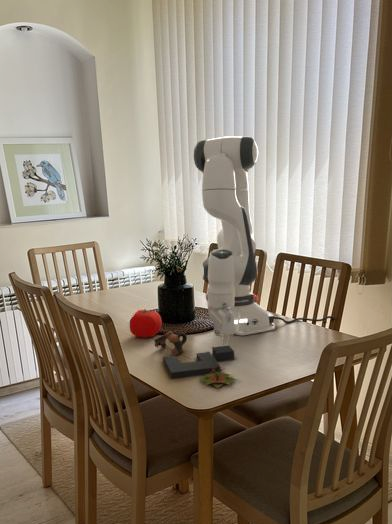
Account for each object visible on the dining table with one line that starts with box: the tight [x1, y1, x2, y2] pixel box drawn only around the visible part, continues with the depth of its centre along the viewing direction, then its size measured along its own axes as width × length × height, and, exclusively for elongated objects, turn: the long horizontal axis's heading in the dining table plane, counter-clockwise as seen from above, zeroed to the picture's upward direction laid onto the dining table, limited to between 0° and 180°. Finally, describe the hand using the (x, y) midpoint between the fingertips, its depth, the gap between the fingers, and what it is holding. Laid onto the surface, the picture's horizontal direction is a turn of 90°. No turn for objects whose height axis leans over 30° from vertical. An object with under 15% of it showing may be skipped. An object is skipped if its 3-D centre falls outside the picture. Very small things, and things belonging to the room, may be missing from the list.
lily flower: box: [197, 366, 239, 389], centre depth 167 cm, size 12×12×5 cm
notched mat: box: [162, 351, 222, 379], centre depth 179 cm, size 16×14×2 cm
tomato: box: [129, 308, 163, 339], centre depth 208 cm, size 11×13×10 cm
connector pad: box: [211, 344, 235, 362], centre depth 186 cm, size 6×6×3 cm
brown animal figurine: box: [153, 330, 188, 356], centre depth 194 cm, size 12×10×8 cm
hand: (220, 339), depth 185 cm, fingers open, 8 cm apart
